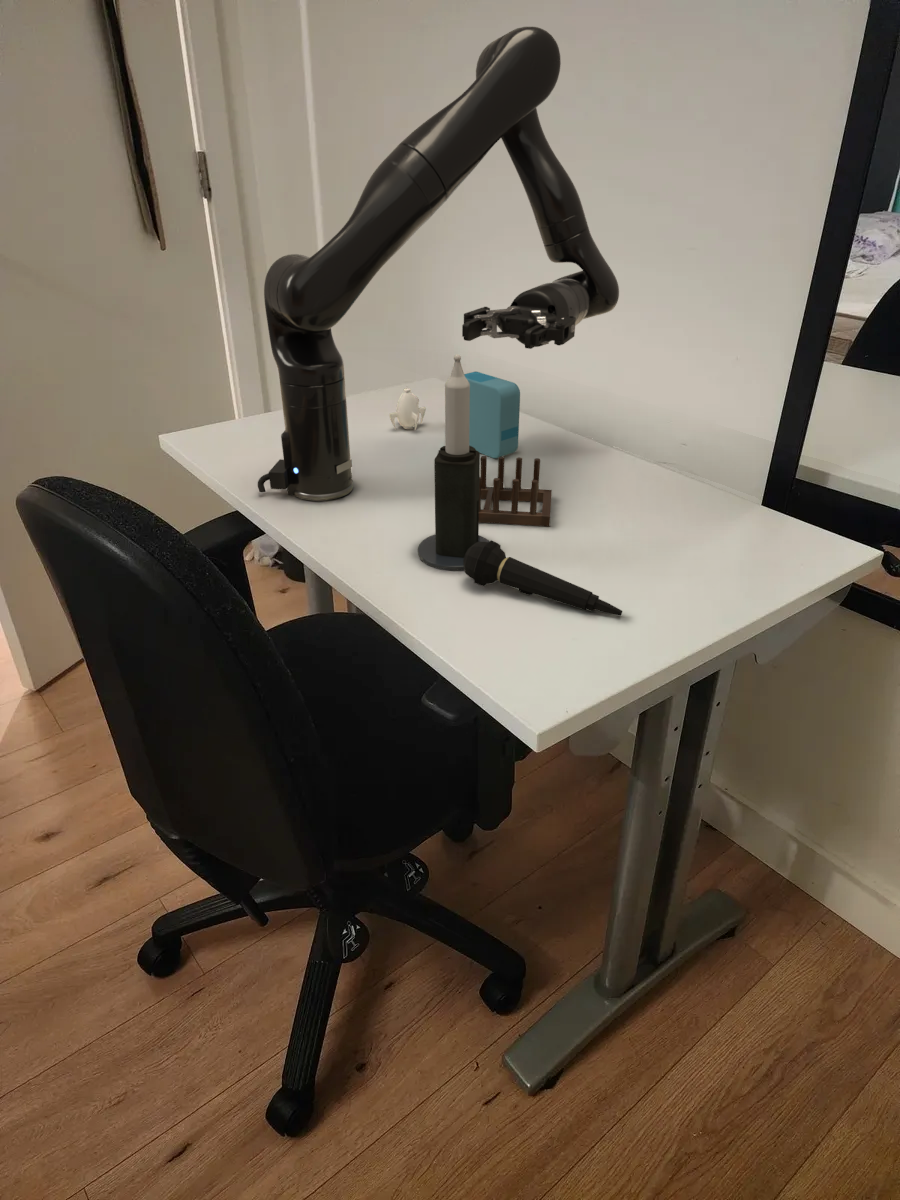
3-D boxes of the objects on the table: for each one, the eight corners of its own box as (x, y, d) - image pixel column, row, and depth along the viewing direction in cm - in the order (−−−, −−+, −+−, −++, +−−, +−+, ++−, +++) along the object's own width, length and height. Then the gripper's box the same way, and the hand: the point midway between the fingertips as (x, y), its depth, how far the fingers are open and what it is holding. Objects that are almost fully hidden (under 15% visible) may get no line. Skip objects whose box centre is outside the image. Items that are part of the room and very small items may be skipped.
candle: (472, 558, 102) (475, 361, 89) (433, 554, 103) (430, 358, 90) (479, 541, 106) (483, 350, 94) (442, 537, 107) (440, 348, 95)
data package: (518, 454, 136) (521, 384, 129) (499, 461, 133) (501, 389, 127) (470, 436, 143) (471, 369, 137) (451, 442, 141) (451, 374, 135)
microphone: (619, 631, 94) (469, 574, 101) (634, 585, 92) (480, 531, 99) (607, 641, 89) (451, 581, 96) (624, 594, 88) (463, 536, 94)
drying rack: (450, 521, 113) (450, 478, 110) (458, 494, 121) (458, 454, 118) (549, 526, 112) (552, 483, 108) (551, 499, 120) (554, 458, 116)
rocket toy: (426, 424, 149) (425, 382, 145) (418, 433, 145) (417, 390, 141) (398, 422, 150) (397, 379, 146) (389, 431, 146) (388, 388, 142)
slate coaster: (411, 568, 101) (411, 564, 101) (424, 533, 110) (424, 529, 110) (490, 573, 100) (490, 568, 100) (496, 537, 109) (497, 533, 108)
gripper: (499, 280, 114) (446, 299, 101) (595, 289, 108) (551, 310, 96) (497, 335, 118) (446, 359, 105) (590, 346, 112) (547, 373, 99)
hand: (496, 336), depth 100 cm, fingers open, 8 cm apart
